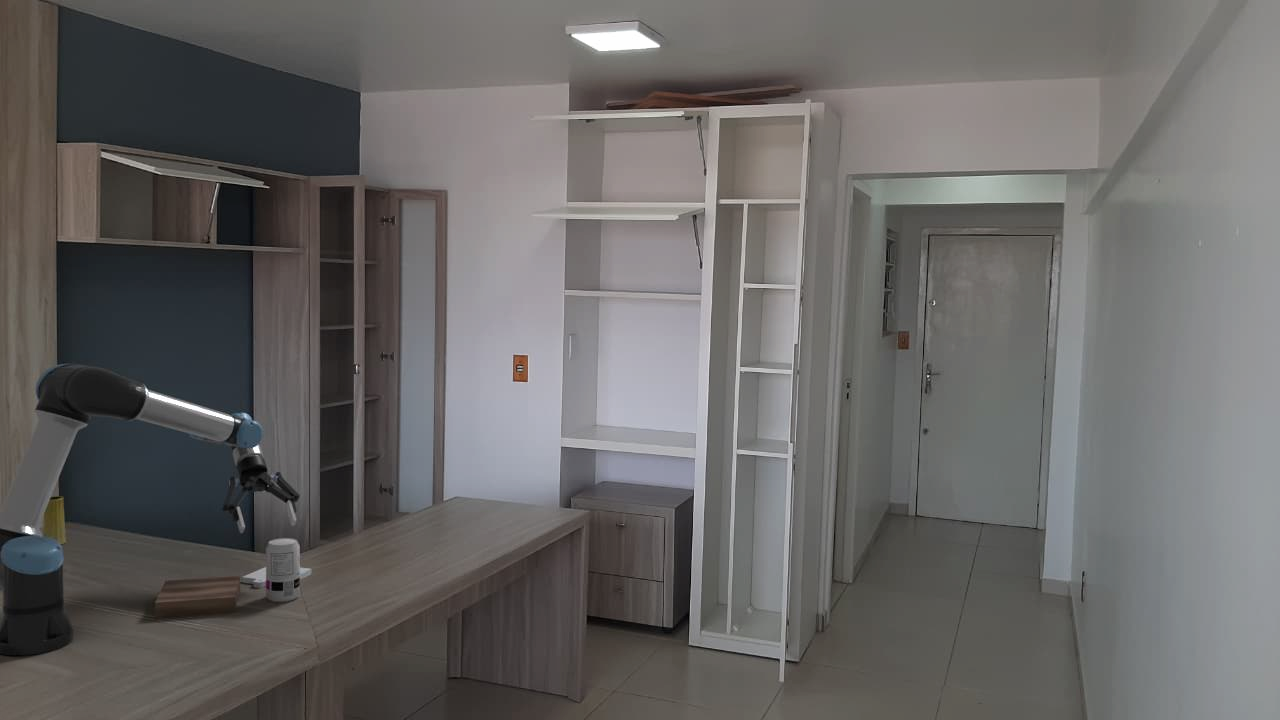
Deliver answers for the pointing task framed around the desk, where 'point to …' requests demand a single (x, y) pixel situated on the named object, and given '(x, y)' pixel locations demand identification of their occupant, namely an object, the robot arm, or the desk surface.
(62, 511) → the vase
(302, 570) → the mounting plate
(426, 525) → the desk surface
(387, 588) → the desk surface
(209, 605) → the walnut riser
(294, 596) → the supplement can
